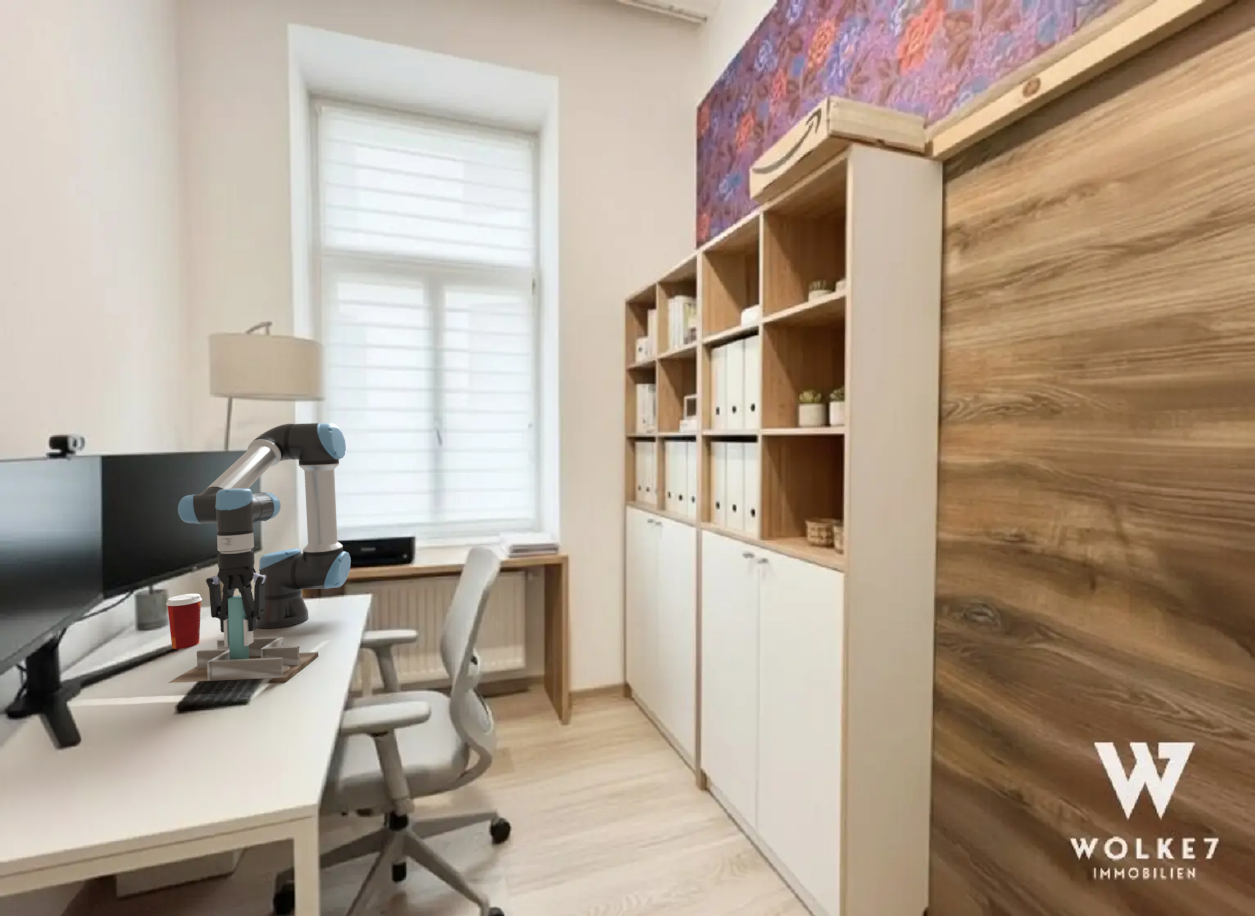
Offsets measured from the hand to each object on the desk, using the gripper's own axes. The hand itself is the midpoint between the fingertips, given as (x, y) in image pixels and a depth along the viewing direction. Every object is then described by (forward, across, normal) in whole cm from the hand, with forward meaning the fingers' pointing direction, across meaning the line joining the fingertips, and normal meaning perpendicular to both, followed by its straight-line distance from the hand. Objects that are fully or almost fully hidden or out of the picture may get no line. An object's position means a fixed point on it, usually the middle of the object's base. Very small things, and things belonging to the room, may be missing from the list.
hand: (239, 644), depth 144 cm
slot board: (+8, 0, +3) cm, 9 cm away
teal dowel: (+4, 0, 0) cm, 4 cm away
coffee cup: (+8, -28, +23) cm, 37 cm away
